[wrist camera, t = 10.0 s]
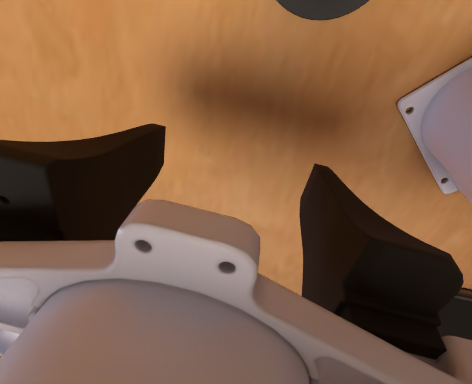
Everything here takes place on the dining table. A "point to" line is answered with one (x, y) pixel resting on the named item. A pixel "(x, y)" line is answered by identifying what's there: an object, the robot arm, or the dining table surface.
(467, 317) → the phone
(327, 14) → the coaster
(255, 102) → the dining table surface
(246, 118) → the dining table surface
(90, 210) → the robot arm
